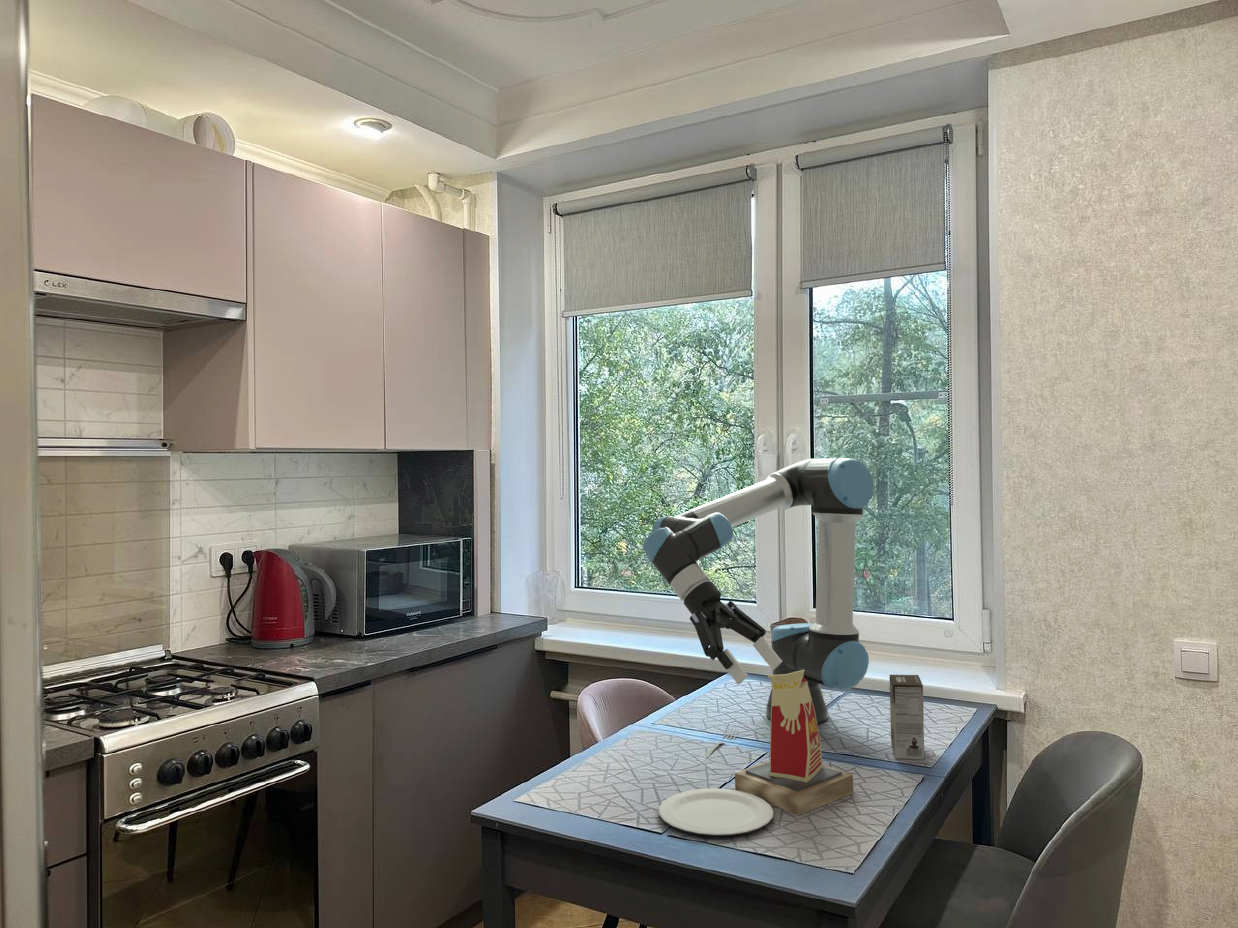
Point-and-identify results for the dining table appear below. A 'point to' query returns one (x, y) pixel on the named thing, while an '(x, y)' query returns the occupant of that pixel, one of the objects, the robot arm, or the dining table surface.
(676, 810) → the plate
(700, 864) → the dining table surface
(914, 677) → the coffee box
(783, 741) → the milk carton
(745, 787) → the oak plinth
